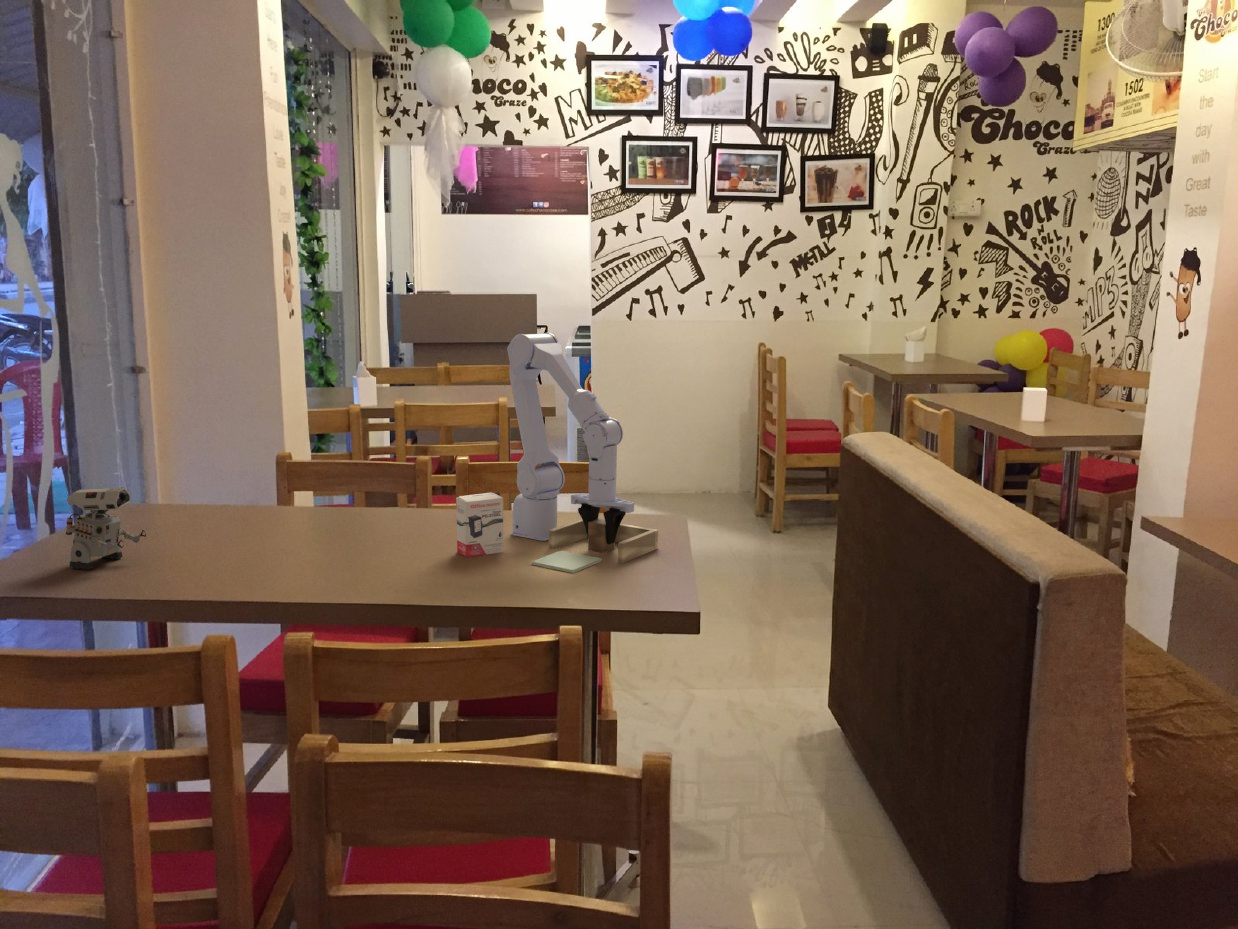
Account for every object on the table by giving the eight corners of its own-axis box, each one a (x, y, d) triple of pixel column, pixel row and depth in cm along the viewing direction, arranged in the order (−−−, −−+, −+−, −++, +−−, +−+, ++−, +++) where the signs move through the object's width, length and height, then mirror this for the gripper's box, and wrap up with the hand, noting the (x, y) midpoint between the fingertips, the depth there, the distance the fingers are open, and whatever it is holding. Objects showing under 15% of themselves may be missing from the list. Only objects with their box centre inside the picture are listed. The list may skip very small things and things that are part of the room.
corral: (548, 548, 210) (548, 530, 209) (585, 535, 221) (586, 517, 221) (623, 563, 200) (623, 543, 199) (657, 548, 212) (658, 529, 211)
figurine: (114, 574, 187) (108, 495, 184) (63, 568, 190) (56, 491, 187) (148, 561, 196) (143, 485, 193) (98, 555, 199) (93, 481, 196)
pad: (531, 564, 198) (531, 561, 198) (561, 553, 206) (561, 550, 206) (573, 573, 193) (573, 570, 193) (601, 561, 201) (601, 558, 201)
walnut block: (588, 550, 210) (588, 522, 208) (598, 545, 213) (599, 518, 212) (604, 553, 207) (604, 524, 206) (614, 548, 211) (615, 521, 210)
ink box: (466, 558, 202) (465, 500, 200) (456, 552, 206) (455, 496, 204) (504, 552, 207) (504, 496, 204) (493, 546, 211) (493, 491, 209)
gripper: (562, 476, 208) (562, 540, 210) (621, 485, 200) (620, 551, 203) (582, 471, 214) (581, 533, 216) (640, 479, 206) (638, 543, 209)
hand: (601, 541), depth 210 cm, fingers closed on walnut block, 4 cm apart
